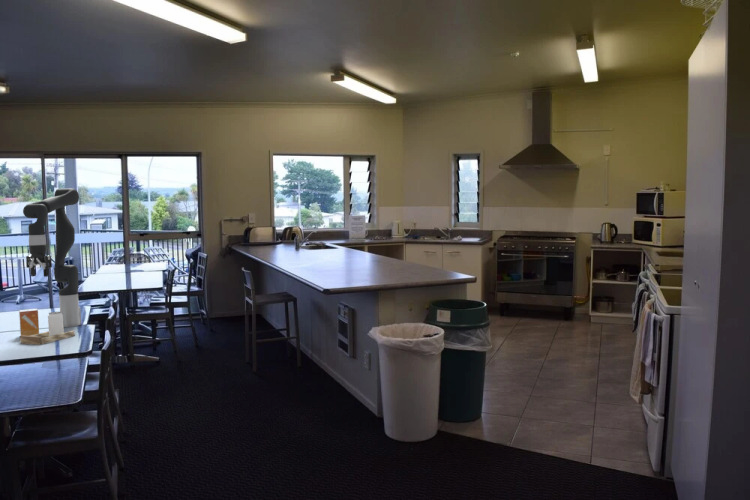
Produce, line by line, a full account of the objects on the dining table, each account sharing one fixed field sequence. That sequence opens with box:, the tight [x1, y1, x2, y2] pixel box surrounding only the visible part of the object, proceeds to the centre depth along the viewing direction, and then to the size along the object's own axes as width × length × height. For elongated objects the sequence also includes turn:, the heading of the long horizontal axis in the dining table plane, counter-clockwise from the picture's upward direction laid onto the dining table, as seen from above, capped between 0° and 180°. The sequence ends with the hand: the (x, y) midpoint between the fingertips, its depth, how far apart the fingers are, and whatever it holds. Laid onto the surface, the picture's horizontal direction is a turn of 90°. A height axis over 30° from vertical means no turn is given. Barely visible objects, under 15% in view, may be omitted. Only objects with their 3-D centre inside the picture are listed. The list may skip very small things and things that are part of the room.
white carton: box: [47, 311, 65, 336], centre depth 292 cm, size 6×6×12 cm
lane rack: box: [19, 330, 75, 346], centre depth 287 cm, size 20×12×4 cm, turn 160°
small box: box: [18, 308, 40, 336], centre depth 298 cm, size 8×6×13 cm
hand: (39, 276), depth 294 cm, fingers open, 8 cm apart
